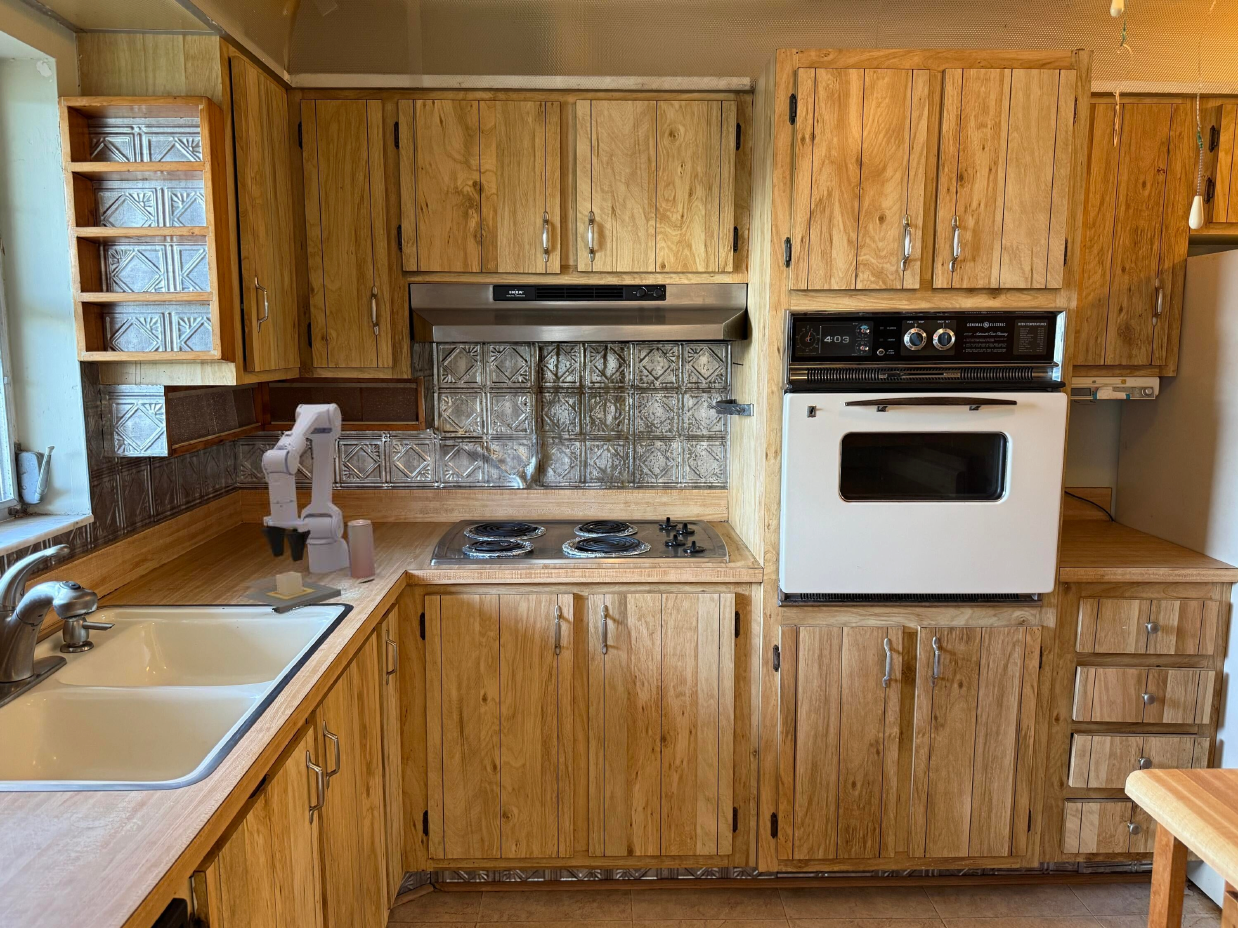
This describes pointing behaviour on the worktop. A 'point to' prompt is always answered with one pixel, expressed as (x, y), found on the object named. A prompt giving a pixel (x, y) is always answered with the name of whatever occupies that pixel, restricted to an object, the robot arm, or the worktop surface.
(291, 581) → the peg
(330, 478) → the robot arm
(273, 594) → the hole board
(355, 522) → the beverage can
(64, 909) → the worktop surface
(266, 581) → the tab
